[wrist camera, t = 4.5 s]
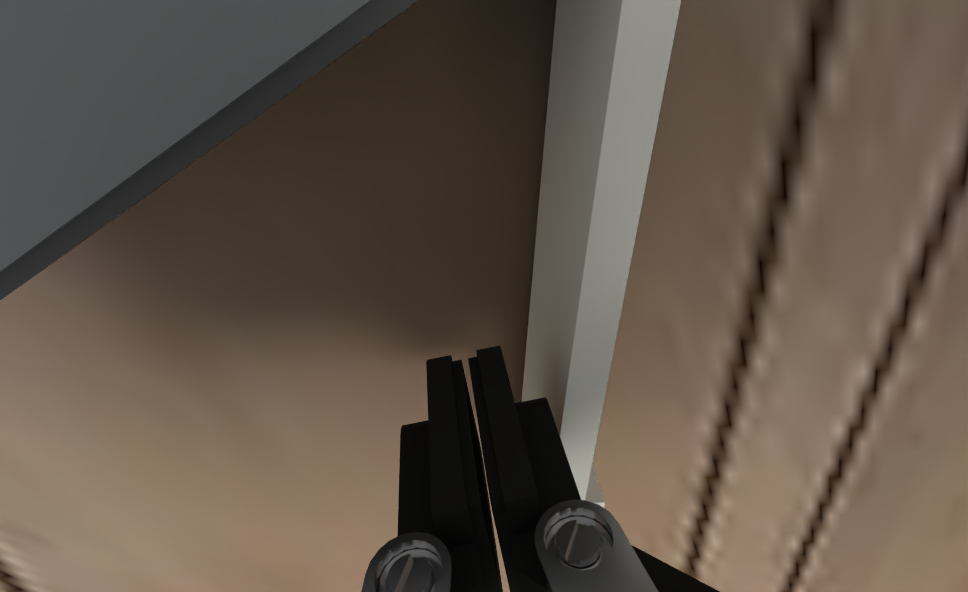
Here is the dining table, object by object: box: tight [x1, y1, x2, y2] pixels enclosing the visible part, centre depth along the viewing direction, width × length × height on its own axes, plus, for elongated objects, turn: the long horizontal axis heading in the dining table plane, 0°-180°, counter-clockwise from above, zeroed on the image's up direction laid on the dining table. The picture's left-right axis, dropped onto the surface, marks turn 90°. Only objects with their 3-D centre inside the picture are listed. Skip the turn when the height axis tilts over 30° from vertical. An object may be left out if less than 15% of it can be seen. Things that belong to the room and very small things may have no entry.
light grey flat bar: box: [521, 0, 681, 508], centre depth 11 cm, size 2×13×4 cm, turn 178°
